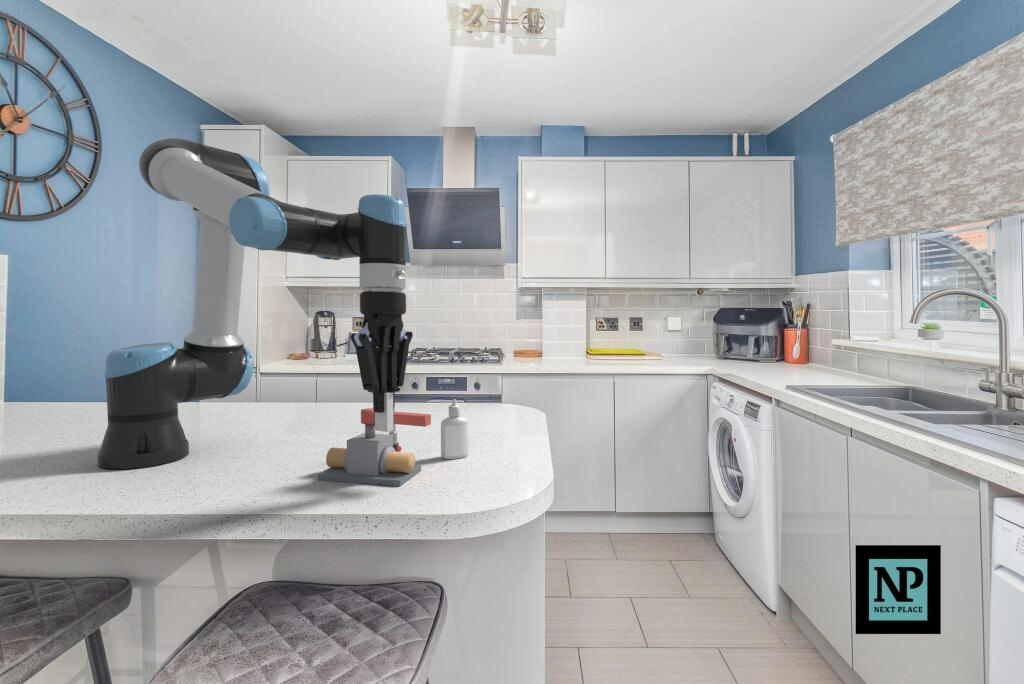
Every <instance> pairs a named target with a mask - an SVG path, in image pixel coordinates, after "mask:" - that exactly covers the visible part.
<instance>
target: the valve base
mask: <svg viewBox="0 0 1024 684" xmlns="http://www.w3.org/2000/svg"><path fill="white" fill-rule="evenodd" d="M325 458H326V459H325V461H326V465H327V467H329V468H326V469H325V470H323V471H321V472H319V473H317V480H318V479H319V480H320V481H321V480H322V481H330V480H331V482H332V481H334V482H342V483H345V482H346V483H353V484H354V483H355V484H366V485H367V483H368V484H369V485H378V484H382V486H390V485H394V486H393V487H401V486H403V485H404V484H405V483H407V482H408V481H409V480H410V479H412V478H414V477H415V476H416V475H417V474H419V473H421V472H422V465H418V464H417V465H416V456H415V453H414V452H409V451H408V452H407V451H406V452H404V451H400V452H396V451H395V449H394V448H393V435H391V434H389V433H376V431H375V424H364V432H363V433H360V434H359V435H356V436H353V437H352V438H349V439H346V447H345V448H344V447H330V448H329V450H327V453H326V456H325ZM402 484H403V485H402Z"/></svg>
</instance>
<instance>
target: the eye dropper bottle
mask: <svg viewBox="0 0 1024 684" xmlns="http://www.w3.org/2000/svg"><path fill="white" fill-rule="evenodd" d="M469 441H470V439H469V421H468V419H467V418H465V417H463V416H461V405H459V404H458V402H457V399H452V401H451V404H450V405H449V406H448V416H447V417H446V418H444V419H442V421H441V422H440V457H441V458H442V459H445V460H458V458H459V459H464V458H467V457H468V456H469V453H470V452H469V450H470V449H469ZM463 457H464V458H463Z"/></svg>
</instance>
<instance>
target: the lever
mask: <svg viewBox="0 0 1024 684" xmlns="http://www.w3.org/2000/svg"><path fill="white" fill-rule="evenodd" d="M360 424H362V425H365V424H375V412H374V410H373V407H371V408H370V407H369V408H362V409H361V410H360ZM393 424H395V425H402V426H414V427H415V426H416V427H428V426H430V425H432V415H431V414H429V413H418V412H407V411H406V412H402V411H395V412H393Z"/></svg>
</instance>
